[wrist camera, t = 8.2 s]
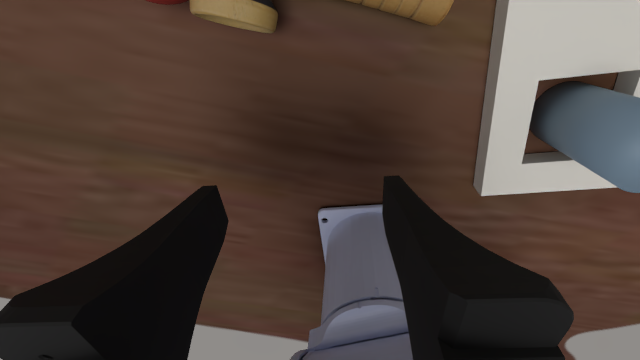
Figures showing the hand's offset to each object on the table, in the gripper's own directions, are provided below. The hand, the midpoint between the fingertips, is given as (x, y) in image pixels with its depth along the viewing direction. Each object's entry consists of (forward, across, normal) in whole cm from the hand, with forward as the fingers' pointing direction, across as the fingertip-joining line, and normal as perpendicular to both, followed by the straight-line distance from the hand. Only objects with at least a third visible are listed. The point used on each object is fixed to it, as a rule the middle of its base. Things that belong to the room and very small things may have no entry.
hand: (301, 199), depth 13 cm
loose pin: (+9, -16, +1) cm, 19 cm away
